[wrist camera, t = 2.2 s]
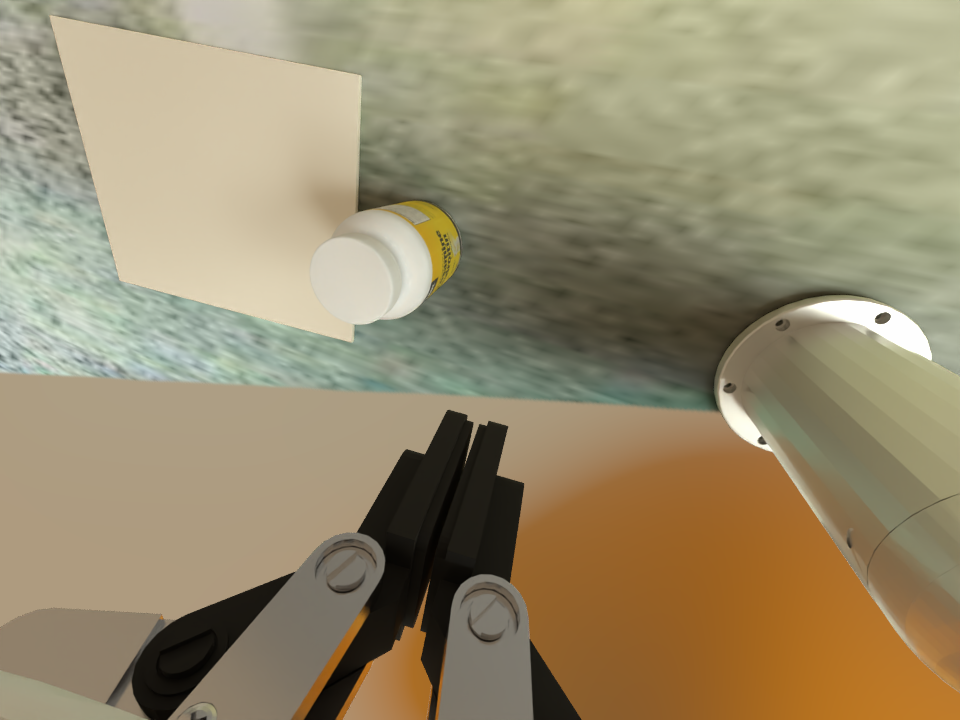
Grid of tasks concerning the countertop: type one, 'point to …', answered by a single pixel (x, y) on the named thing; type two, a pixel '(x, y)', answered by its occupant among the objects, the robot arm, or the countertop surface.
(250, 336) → the countertop surface
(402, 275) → the pill bottle
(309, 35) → the countertop surface
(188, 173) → the mat
